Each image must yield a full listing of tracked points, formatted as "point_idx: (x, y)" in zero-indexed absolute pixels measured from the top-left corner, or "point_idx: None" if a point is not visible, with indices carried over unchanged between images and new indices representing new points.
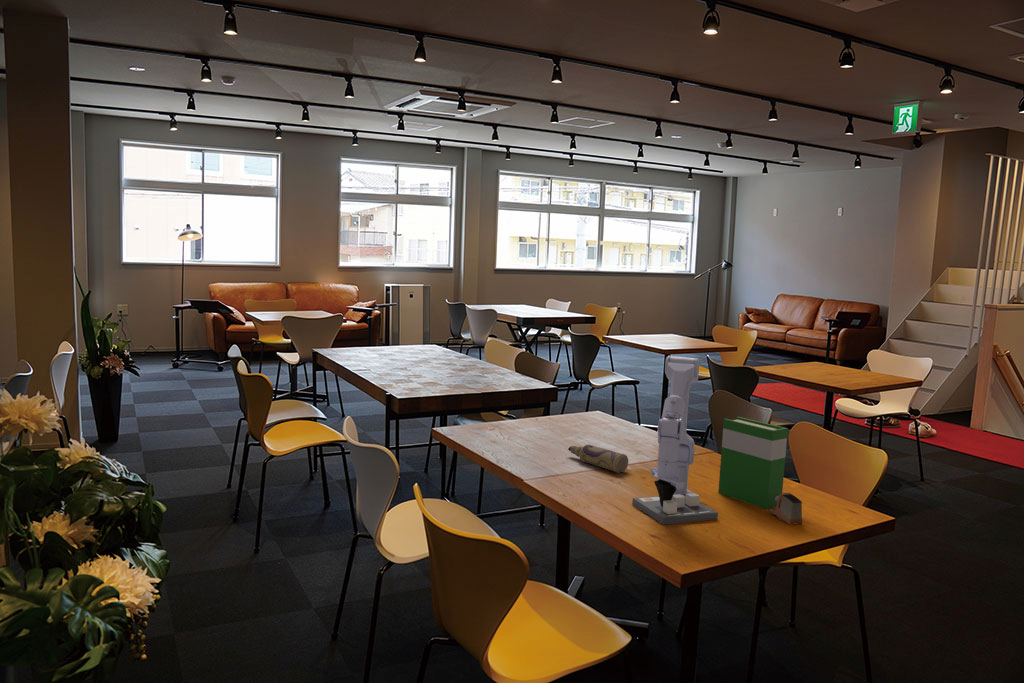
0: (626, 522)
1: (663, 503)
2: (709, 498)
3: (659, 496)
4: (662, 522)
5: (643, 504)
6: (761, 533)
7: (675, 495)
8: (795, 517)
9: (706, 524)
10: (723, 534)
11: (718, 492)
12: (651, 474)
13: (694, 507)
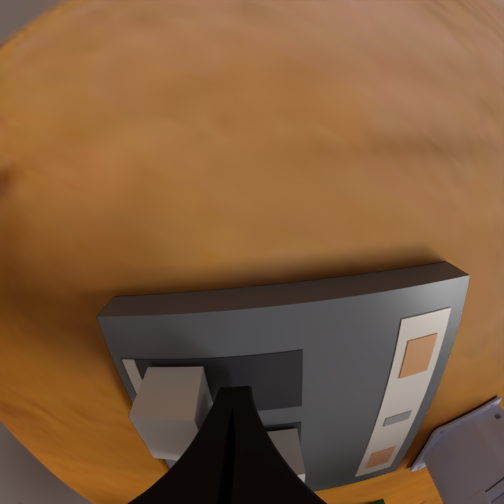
0: (168, 83)
1: (193, 404)
2: (363, 491)
3: (254, 429)
4: (112, 301)
5: (363, 299)
6: (100, 483)
7: None
8: None
9: (140, 443)
10: (65, 430)
11: (382, 499)
12: (471, 497)
13: None
